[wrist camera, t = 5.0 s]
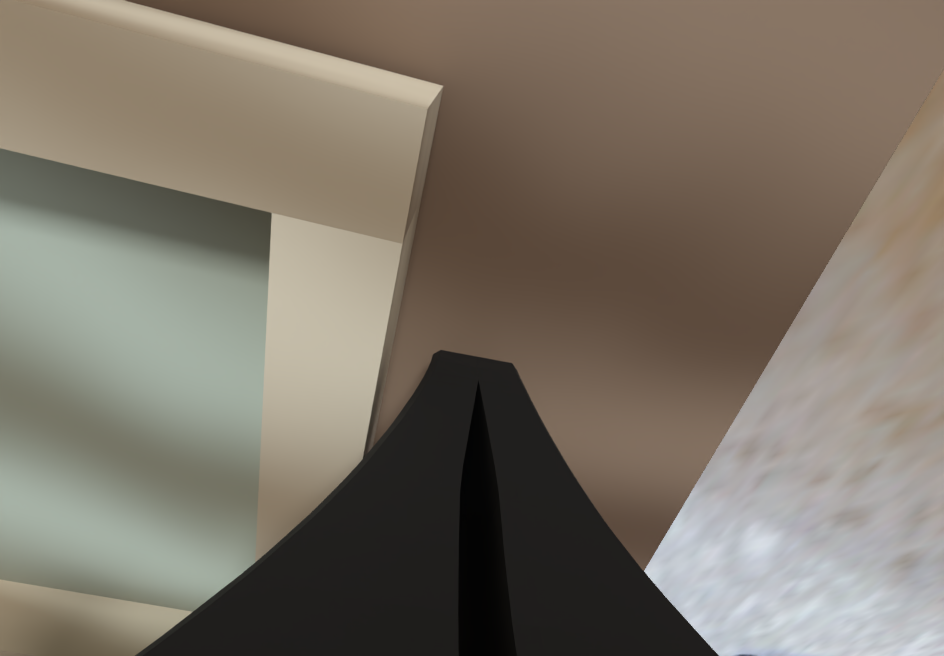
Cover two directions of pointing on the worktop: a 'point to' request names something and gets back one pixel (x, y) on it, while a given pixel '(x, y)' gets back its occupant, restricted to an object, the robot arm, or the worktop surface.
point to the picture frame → (183, 305)
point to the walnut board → (626, 199)
